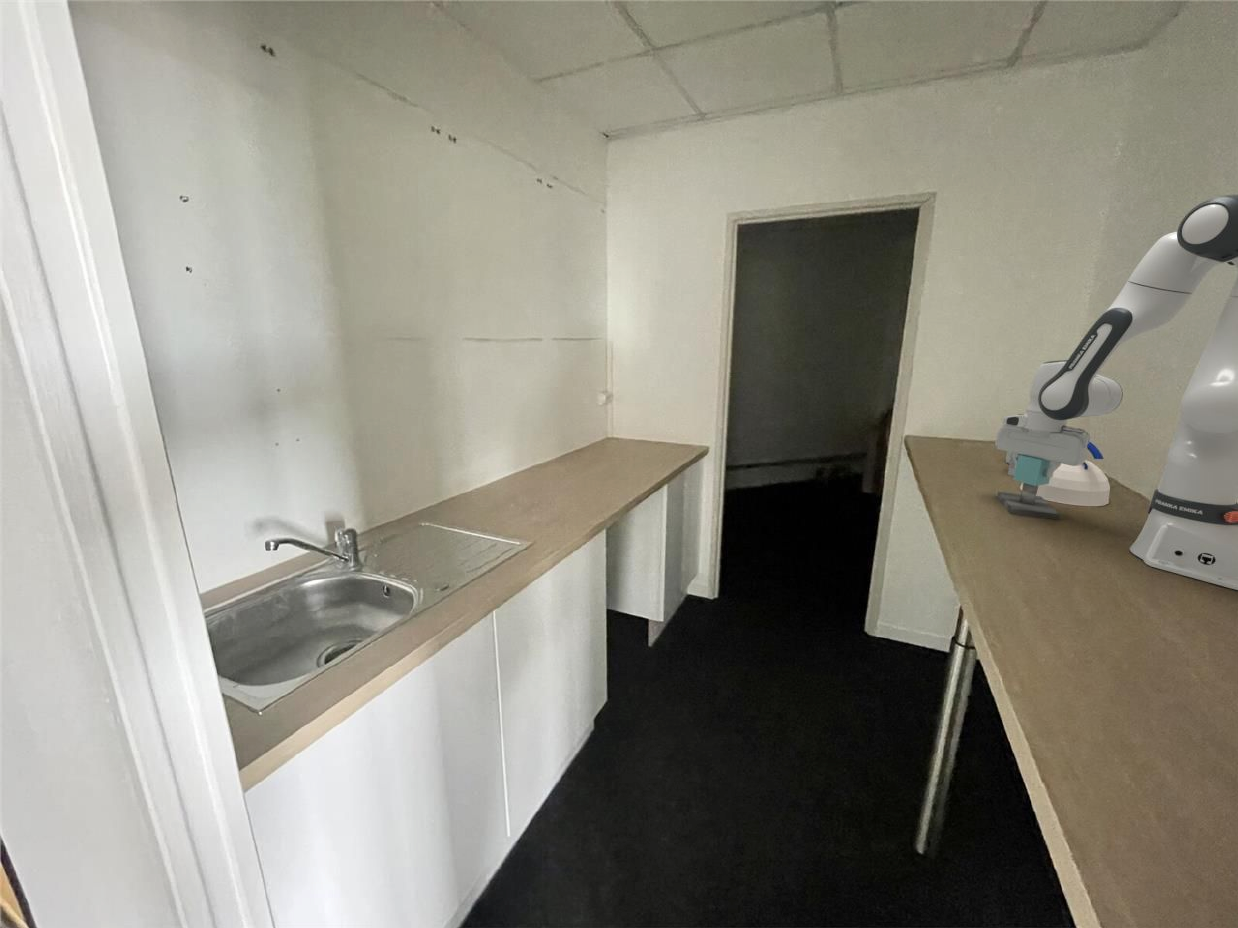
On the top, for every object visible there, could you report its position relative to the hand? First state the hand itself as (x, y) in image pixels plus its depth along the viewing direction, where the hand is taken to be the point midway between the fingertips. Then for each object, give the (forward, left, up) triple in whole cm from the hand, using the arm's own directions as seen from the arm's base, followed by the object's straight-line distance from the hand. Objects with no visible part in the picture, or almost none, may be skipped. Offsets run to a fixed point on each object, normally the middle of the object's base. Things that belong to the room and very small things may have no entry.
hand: (1032, 473), depth 140 cm
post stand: (0, 0, -10) cm, 10 cm away
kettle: (+3, -22, -10) cm, 24 cm away
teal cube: (0, 0, -2) cm, 2 cm away
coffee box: (+22, -34, -10) cm, 42 cm away
